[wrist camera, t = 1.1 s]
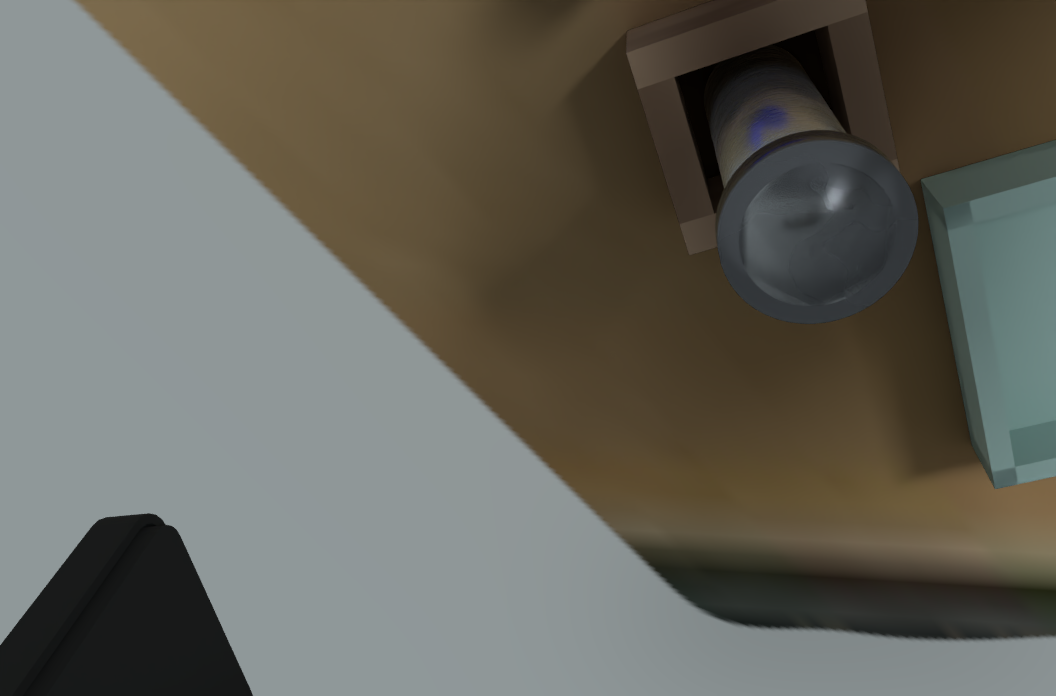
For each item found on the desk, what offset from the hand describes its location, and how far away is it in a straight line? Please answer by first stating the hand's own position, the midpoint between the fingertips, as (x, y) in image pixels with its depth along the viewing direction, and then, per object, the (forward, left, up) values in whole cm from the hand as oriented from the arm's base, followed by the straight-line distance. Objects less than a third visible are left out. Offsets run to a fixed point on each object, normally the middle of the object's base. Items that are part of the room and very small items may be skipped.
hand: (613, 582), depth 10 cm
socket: (-3, +2, -22) cm, 22 cm away
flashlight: (-3, +2, -22) cm, 22 cm away
